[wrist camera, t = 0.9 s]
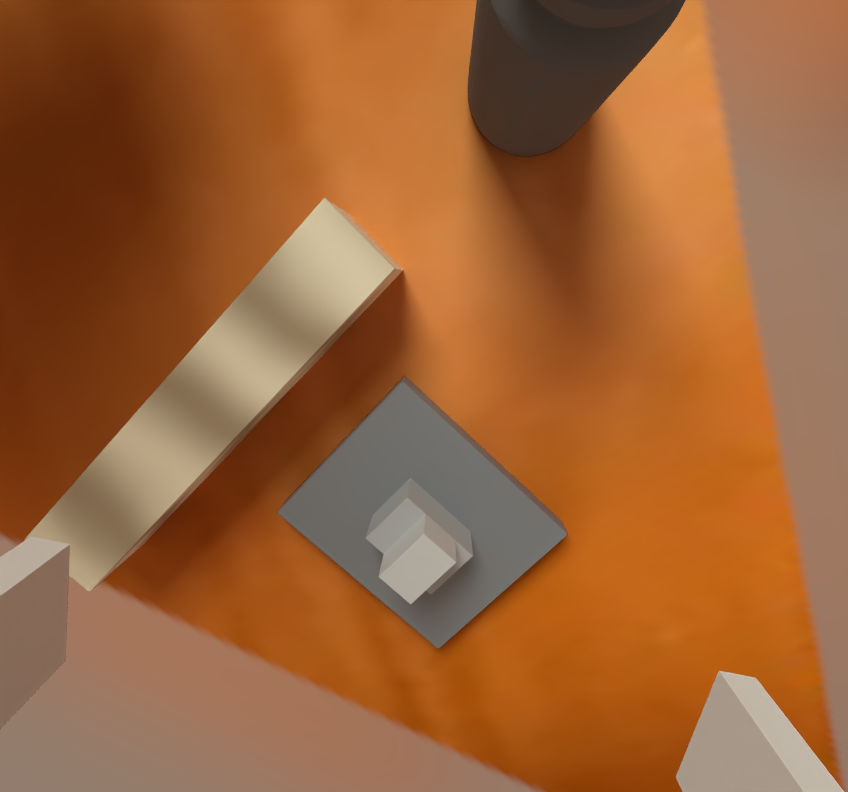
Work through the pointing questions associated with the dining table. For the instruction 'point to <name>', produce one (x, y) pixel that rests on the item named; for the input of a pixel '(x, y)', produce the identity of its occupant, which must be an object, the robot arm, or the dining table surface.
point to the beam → (220, 391)
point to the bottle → (554, 64)
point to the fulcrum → (422, 515)
